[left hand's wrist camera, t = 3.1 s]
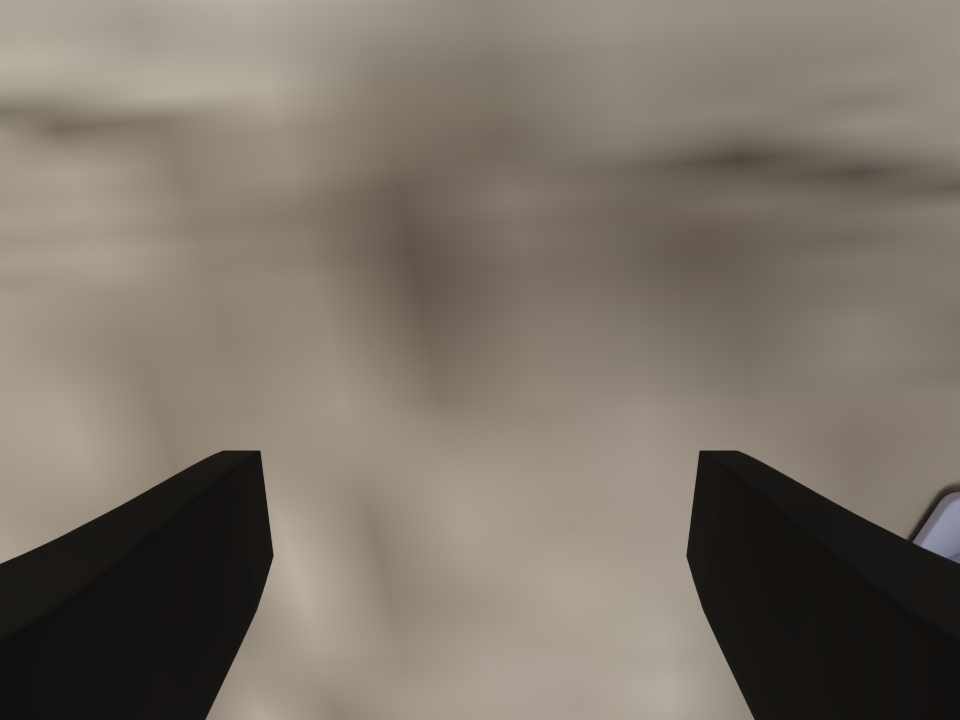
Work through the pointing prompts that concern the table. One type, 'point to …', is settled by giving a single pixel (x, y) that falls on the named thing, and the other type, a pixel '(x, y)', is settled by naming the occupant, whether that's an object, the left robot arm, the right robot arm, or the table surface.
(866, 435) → the table surface
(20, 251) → the table surface
